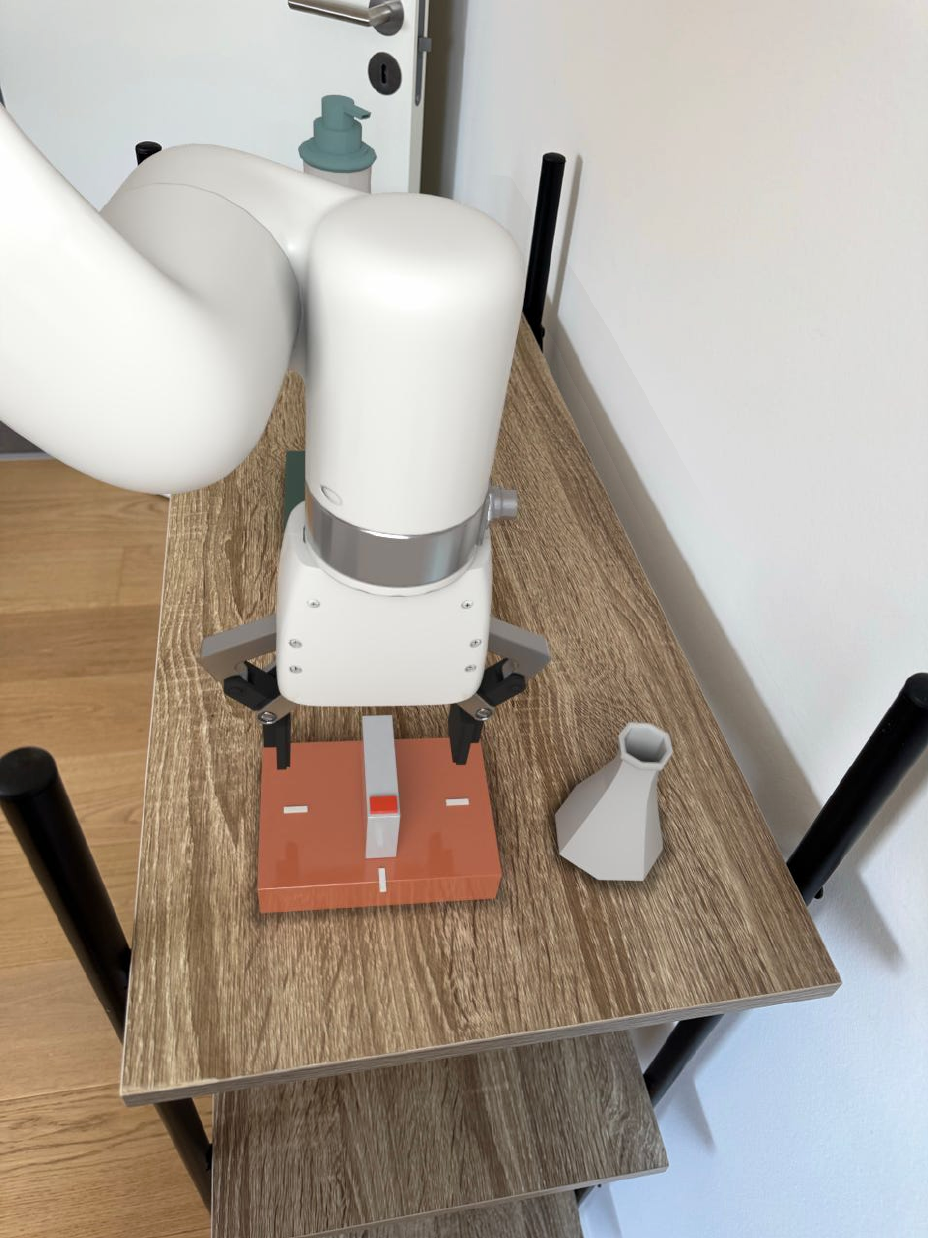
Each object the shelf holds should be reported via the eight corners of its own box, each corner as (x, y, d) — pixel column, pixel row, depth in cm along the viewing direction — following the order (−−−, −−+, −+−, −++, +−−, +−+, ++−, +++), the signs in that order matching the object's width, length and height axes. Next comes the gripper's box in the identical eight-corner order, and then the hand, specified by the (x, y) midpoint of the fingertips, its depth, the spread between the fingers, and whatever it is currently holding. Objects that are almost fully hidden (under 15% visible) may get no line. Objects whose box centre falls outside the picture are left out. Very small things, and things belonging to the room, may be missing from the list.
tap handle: (360, 758, 58) (362, 713, 54) (388, 757, 58) (392, 712, 54) (365, 859, 53) (367, 815, 49) (396, 857, 53) (400, 814, 50)
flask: (669, 805, 61) (714, 714, 54) (654, 900, 56) (701, 814, 49) (565, 773, 62) (596, 680, 55) (541, 864, 57) (571, 774, 50)
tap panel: (259, 923, 53) (256, 898, 50) (265, 762, 60) (262, 734, 58) (497, 908, 55) (504, 883, 53) (473, 754, 62) (479, 726, 60)
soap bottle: (331, 363, 95) (332, 126, 78) (272, 324, 99) (260, 91, 82) (400, 334, 100) (413, 108, 84) (341, 298, 104) (343, 76, 88)
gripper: (572, 463, 43) (511, 691, 55) (190, 450, 40) (216, 695, 52) (608, 575, 38) (532, 799, 50) (174, 569, 35) (206, 809, 47)
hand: (371, 746), depth 51 cm, fingers open, 9 cm apart
